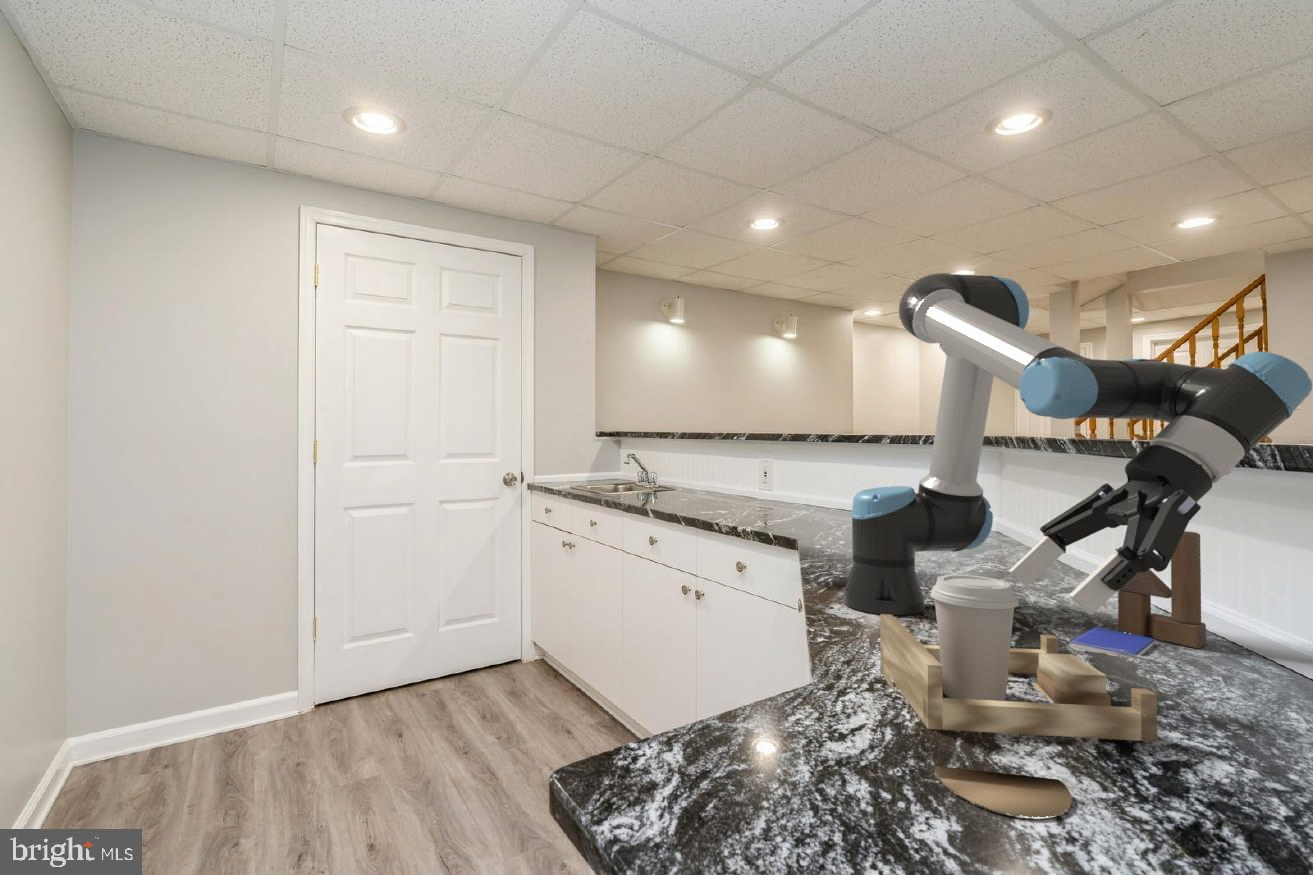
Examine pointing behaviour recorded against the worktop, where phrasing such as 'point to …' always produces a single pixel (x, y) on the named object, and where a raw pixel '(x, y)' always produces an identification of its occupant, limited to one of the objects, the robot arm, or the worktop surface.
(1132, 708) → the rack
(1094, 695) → the offcut mid
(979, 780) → the trivet
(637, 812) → the worktop surface
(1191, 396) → the robot arm
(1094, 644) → the hard drive
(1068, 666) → the offcut top
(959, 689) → the coffee cup
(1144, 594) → the brown wooden block structure
